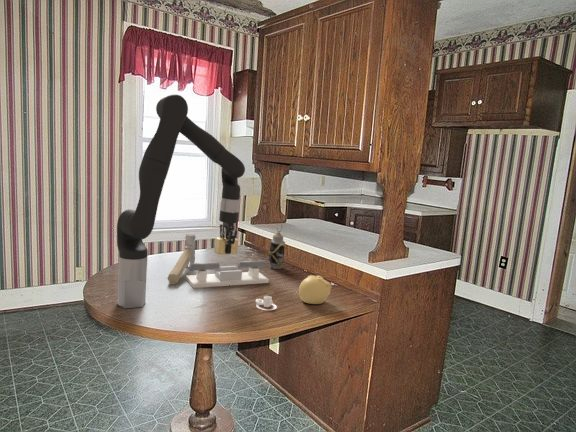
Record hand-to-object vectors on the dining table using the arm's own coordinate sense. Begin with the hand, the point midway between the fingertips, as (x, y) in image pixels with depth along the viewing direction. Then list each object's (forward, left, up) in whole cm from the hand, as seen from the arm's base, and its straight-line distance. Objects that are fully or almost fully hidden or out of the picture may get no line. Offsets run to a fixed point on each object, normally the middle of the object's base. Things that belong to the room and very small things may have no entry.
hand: (225, 251), depth 165 cm
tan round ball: (-20, -31, -17) cm, 40 cm away
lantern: (+27, -37, -16) cm, 49 cm away
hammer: (+24, +11, -17) cm, 31 cm away
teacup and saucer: (-17, -12, -17) cm, 27 cm away
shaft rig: (+11, -6, -16) cm, 21 cm away
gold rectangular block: (0, 0, -1) cm, 1 cm away
